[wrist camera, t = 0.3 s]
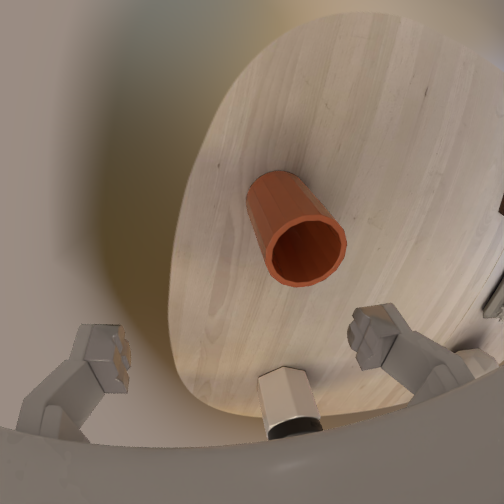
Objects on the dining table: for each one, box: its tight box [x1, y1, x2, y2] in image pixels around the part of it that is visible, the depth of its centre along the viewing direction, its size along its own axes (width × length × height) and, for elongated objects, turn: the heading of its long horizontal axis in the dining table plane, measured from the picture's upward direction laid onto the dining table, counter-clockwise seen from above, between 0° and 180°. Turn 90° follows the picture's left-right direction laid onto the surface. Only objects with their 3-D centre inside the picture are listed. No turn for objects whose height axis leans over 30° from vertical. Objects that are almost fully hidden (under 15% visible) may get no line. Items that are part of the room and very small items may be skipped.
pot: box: [246, 171, 347, 287], centre depth 27 cm, size 6×6×10 cm
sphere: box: [455, 348, 499, 379], centre depth 52 cm, size 19×20×20 cm
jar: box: [257, 367, 323, 440], centre depth 44 cm, size 9×8×12 cm
